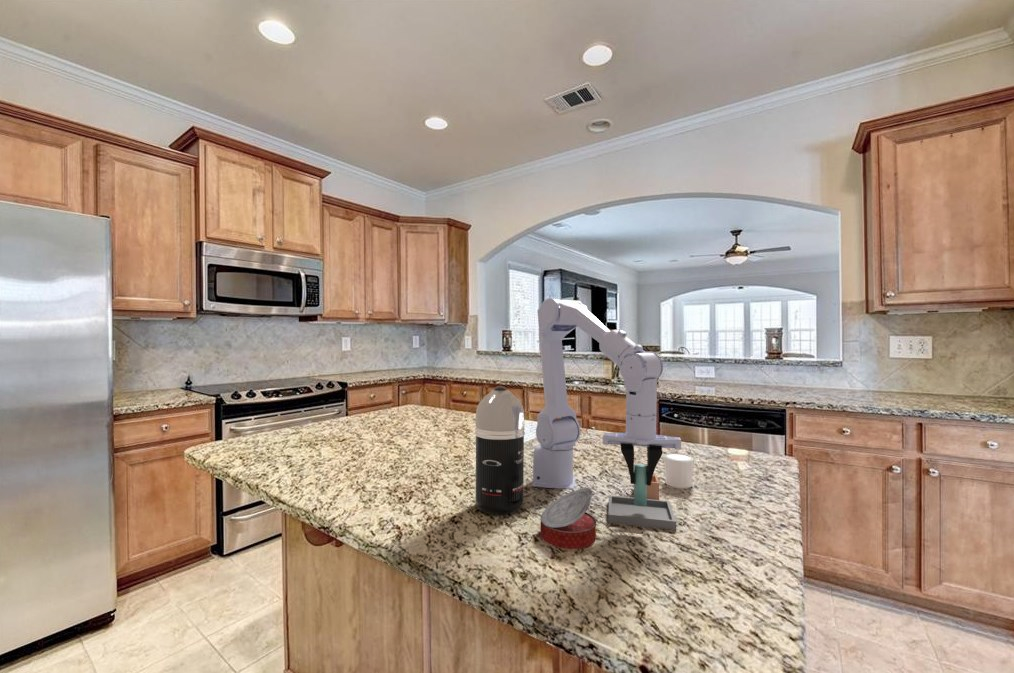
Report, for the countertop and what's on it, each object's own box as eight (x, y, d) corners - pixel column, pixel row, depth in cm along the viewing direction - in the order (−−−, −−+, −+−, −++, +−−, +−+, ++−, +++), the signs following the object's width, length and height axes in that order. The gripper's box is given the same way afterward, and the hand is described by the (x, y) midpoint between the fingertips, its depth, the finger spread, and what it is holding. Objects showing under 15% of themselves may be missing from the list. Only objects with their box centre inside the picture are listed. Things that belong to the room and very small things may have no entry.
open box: (634, 499, 94) (635, 481, 94) (633, 491, 99) (634, 473, 99) (659, 501, 93) (659, 483, 93) (656, 493, 97) (657, 475, 97)
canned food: (585, 576, 72) (580, 536, 68) (532, 553, 78) (525, 515, 73) (608, 524, 80) (605, 485, 76) (559, 506, 86) (554, 469, 81)
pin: (634, 505, 84) (634, 467, 84) (633, 501, 86) (634, 463, 86) (647, 507, 83) (647, 468, 83) (646, 502, 85) (646, 464, 85)
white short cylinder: (697, 492, 98) (697, 461, 98) (665, 489, 100) (665, 459, 100) (690, 482, 105) (691, 453, 105) (661, 480, 107) (661, 451, 107)
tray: (608, 525, 81) (608, 514, 81) (608, 504, 91) (608, 495, 91) (676, 532, 78) (676, 521, 78) (669, 510, 88) (669, 501, 88)
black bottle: (530, 501, 92) (531, 384, 92) (515, 520, 83) (516, 390, 83) (485, 495, 96) (486, 382, 96) (466, 513, 86) (467, 387, 86)
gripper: (602, 415, 82) (602, 486, 82) (684, 419, 79) (683, 493, 79) (603, 409, 89) (602, 474, 89) (678, 412, 86) (677, 481, 86)
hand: (640, 483), depth 84 cm, fingers closed on pin, 2 cm apart
